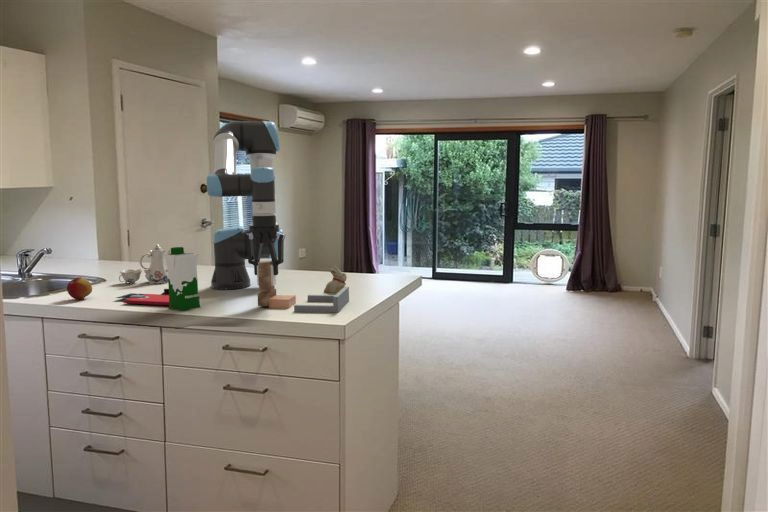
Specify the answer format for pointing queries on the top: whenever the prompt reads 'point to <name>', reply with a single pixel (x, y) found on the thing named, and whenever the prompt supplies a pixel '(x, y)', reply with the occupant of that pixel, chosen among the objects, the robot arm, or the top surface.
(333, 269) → the tan bunny-shaped figure
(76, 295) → the apple
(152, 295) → the red board with handle
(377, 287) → the top surface
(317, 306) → the frame
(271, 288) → the stepped wooden beam
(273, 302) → the salmon square block
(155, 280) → the chinaware
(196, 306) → the milk carton
